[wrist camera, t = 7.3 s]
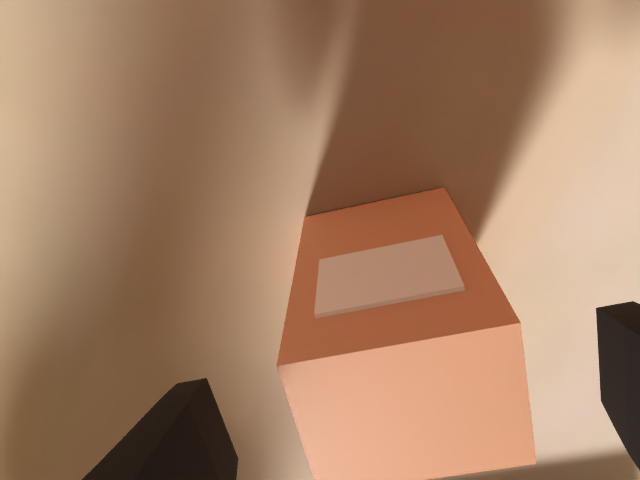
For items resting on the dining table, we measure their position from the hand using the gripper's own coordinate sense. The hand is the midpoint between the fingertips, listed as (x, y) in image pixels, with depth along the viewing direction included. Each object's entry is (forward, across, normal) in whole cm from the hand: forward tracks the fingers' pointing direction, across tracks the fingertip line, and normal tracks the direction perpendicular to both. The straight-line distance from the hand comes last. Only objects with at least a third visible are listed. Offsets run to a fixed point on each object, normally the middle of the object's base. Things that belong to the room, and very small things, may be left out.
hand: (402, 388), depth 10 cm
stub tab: (+6, 0, 0) cm, 6 cm away
